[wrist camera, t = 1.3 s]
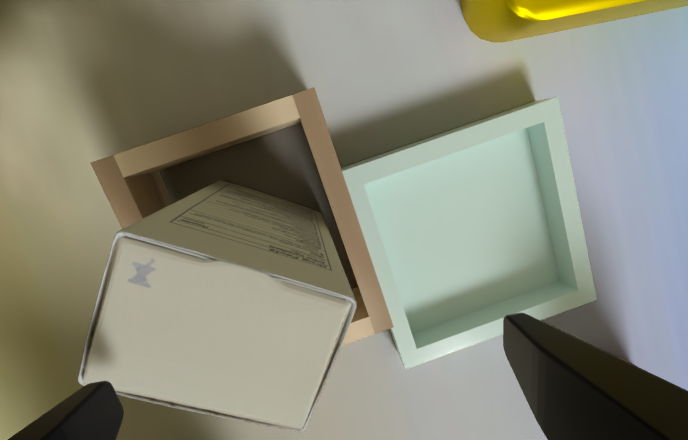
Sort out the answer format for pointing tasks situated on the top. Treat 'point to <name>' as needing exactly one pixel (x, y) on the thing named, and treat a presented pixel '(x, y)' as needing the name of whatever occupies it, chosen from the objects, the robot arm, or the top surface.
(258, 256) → the skincare box
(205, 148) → the frame
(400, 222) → the tray
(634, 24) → the top surface
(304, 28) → the top surface
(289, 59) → the top surface
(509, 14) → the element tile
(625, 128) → the top surface
